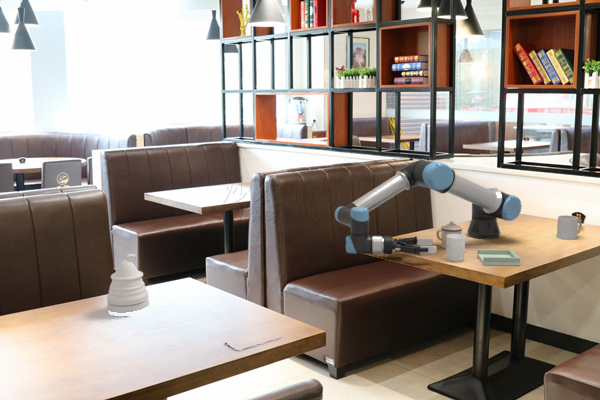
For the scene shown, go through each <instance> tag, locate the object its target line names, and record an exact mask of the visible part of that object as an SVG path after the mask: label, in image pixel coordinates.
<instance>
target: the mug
mask: <svg viewBox="0 0 600 400" xmlns="http://www.w3.org/2000/svg"><path fill="white" fill-rule="evenodd" d="M556 225H557V226H556V227H557V228H556V238H557V239H559V238H560V240H566V241H567V240H569V241H572V240H573V241H575V240H577V239H578V235H579V234H580V233H581V232H582V228H583V223H582V221H581V219H579V217H578V216H576V215H575V216H574V215H569V214H568V215H557V224H556Z"/></svg>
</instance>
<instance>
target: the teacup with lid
mask: <svg viewBox="0 0 600 400" xmlns="http://www.w3.org/2000/svg"><path fill="white" fill-rule="evenodd" d="M462 230H463V228H462V227H461V226H460V225H457V224H455V222H454V221H449V223H447V224H445V225H442V226H441V228H440V229H438V230H437V231H436V233H435V234H436V238H437V239H438V240H439V241H440V244H441V245H440V246H441V248H443V249H445V250H447V249H446V235H448V234H461V235H462V232H463V231H462ZM439 232H440V233H441V237H440V233H439Z"/></svg>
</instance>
